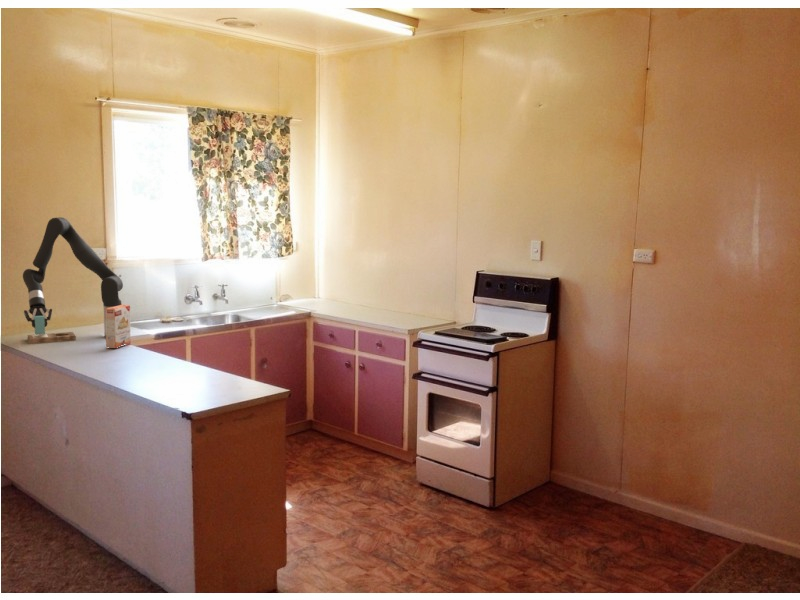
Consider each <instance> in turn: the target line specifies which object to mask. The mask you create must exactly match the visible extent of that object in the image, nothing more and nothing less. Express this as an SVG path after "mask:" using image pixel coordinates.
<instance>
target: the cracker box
mask: <svg viewBox="0 0 800 600" xmlns="http://www.w3.org/2000/svg"><path fill="white" fill-rule="evenodd" d="M105 317H106V337H105V345H106V346H105V348H106V347H109V348H117V347H119V346H121V345H124V344H127V345H126V346H128V345H131V340H132V339H131V306H130V305H129V304H126V305H125V304H121V305H119V306H115V307H110V308H106V309H105ZM117 349H118V348H117Z"/></svg>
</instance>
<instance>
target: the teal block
mask: <svg viewBox="0 0 800 600" xmlns="http://www.w3.org/2000/svg"><path fill="white" fill-rule="evenodd" d="M34 320H35V328H34V335H36V334H46V330H45V329H46V327H45V321H44V316H34Z"/></svg>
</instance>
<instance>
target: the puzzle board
mask: <svg viewBox="0 0 800 600" xmlns="http://www.w3.org/2000/svg"><path fill="white" fill-rule="evenodd" d="M27 341H28V343H29V345H34V344H45V343H47V344H49V343H58V342H59V343H61V342H69V341H72V342H73V341H77V335H76V334H75V333H74V331H66V332H53V333H52V332H51V333H50V332H49V333H45V334H28V335H27Z"/></svg>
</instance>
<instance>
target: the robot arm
mask: <svg viewBox="0 0 800 600" xmlns="http://www.w3.org/2000/svg"><path fill="white" fill-rule="evenodd" d="M45 227H46V228H45V232H44V235H43V237H42V241H41V244H40V247H39V249H38V251H37V253H36V254H35V256H34V259H33V261H32V264H33V266H34V267H35V268H38V270H35V269H32V268H26V269H25V270H24V271H23V272H22V280H23V282H24V284H25V286H26V288H27V292H28V304H29V310H23V314H24V317H25V319H26V321H27V322H28V323H29V322H30V323H31V327H33V328H34V329H35V320H34V316H44V321H45V328H46V327H47V326H48V321H51V319H52V313H53V309H52V308H50V309H48V308H47V307H46V299H45V295H44V290H43V285H42V283H43V282H44V281H45V277H46V271H47V266H48V264H49V262H50V260H51V258H52V255H53V249H54V245H55V242H56V241H57V239H58V237H59V236H61V237H62V238H63V239H64V240H65V241H66V242H67V243H68V244H69V246H70V249H71V250H72V253H73V255H74V256H75V258H76V259H77V261H79V262H80V263H81V265H83V266H84V267H85V268H86V269H88V270H90V271H91V272H92V273H94V274H96V275H97V276H98V278H100V279H101V283H100V294H101V301H102V303H103V326H104V328H103V329H104V337H105V336H106V317H105V309H106V308H110V307H115V306H119V305H122V300H121V299H120V297H119V292H120V291H121V290H122V289H123V287H124V284H123V281H122V279H121V278H120V276H118V275H117V274H116V273H115V272H114V271H113V270H112V269H111V268H109V267H108V266H107V264H106V263H105V262H104V260H102V258H101V257H100V256H99V254H97V253H96V252H95V250H94V249H93V248H92V247H91V246H90V245H89V243H87V242H86V241H85V240H84V239H83V238H82V237H81V236H80V234H79V233H78V232H77V231H76V229H75V228H74V227H73V225H72V223H70V221H69V220H68V219H67V218H65V217H60V216H58V217H52V218H50V219H49V221H48V222H47V223H46V226H45ZM46 313H47V314H48V316H46ZM30 315H32V316H31V317H30Z"/></svg>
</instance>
